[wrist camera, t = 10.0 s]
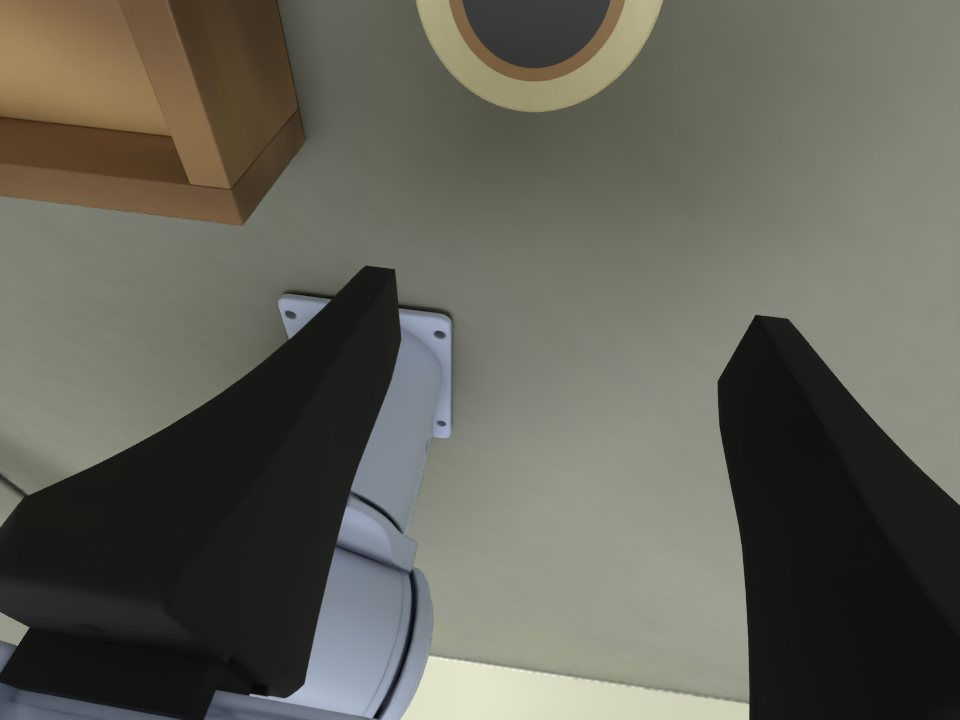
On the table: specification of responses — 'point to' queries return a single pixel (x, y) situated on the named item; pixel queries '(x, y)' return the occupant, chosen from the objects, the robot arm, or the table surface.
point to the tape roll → (537, 46)
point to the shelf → (146, 105)
